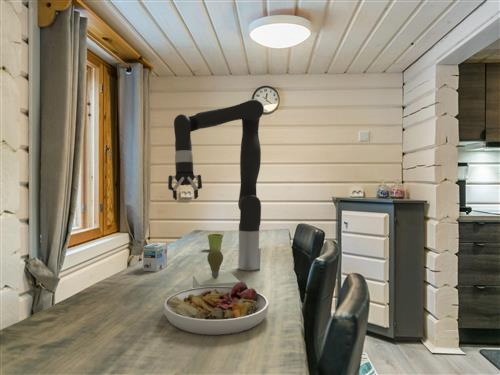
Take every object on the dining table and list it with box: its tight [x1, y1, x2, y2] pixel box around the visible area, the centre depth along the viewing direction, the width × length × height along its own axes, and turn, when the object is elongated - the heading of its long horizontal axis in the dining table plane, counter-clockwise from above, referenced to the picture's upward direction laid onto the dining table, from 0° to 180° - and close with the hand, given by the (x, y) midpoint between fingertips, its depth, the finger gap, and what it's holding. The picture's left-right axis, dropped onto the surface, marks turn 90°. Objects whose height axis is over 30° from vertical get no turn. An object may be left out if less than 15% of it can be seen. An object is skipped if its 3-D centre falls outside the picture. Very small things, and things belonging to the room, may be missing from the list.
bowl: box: [163, 281, 270, 336], centre depth 108 cm, size 30×30×8 cm
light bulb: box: [207, 250, 224, 278], centre depth 131 cm, size 6×6×10 cm
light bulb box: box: [142, 242, 168, 273], centre depth 163 cm, size 11×7×11 cm, turn 168°
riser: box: [192, 271, 241, 288], centre depth 131 cm, size 14×14×5 cm
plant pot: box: [206, 233, 224, 252], centre depth 208 cm, size 9×9×9 cm
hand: (185, 199), depth 159 cm, fingers open, 8 cm apart
